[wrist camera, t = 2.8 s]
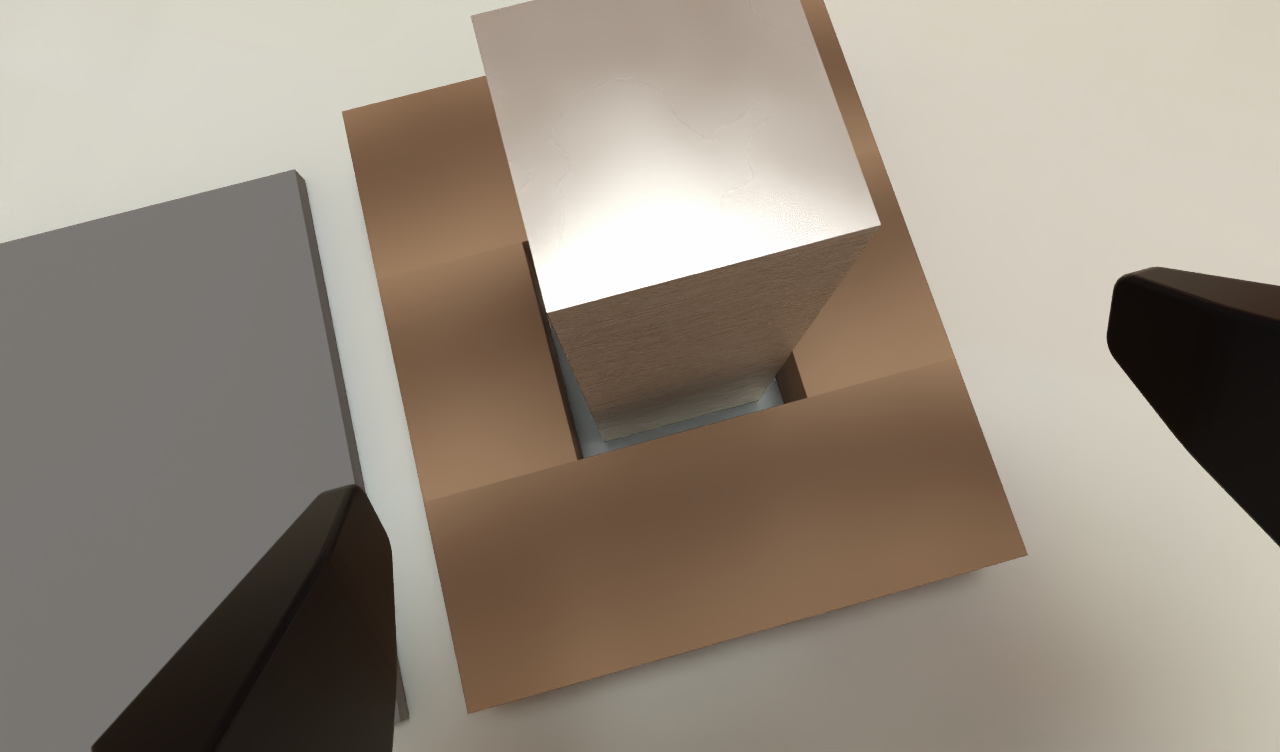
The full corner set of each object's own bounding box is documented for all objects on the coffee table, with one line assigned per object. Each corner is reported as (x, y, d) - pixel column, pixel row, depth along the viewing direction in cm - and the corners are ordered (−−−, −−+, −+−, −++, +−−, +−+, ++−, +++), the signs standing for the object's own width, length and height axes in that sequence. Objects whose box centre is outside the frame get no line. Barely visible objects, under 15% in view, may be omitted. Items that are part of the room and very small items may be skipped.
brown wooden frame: (979, 554, 19) (1028, 555, 17) (492, 692, 19) (467, 714, 16) (801, 54, 22) (820, -8, 20) (377, 161, 22) (341, 111, 19)
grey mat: (408, 716, 18) (400, 721, 18) (-22, 838, 18) (-45, 847, 17) (304, 180, 21) (294, 169, 21) (-68, 273, 21) (-89, 265, 20)
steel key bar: (758, 400, 20) (881, 225, 9) (604, 441, 20) (546, 312, 9) (713, 255, 21) (778, -60, 10) (565, 294, 21) (470, 15, 10)
